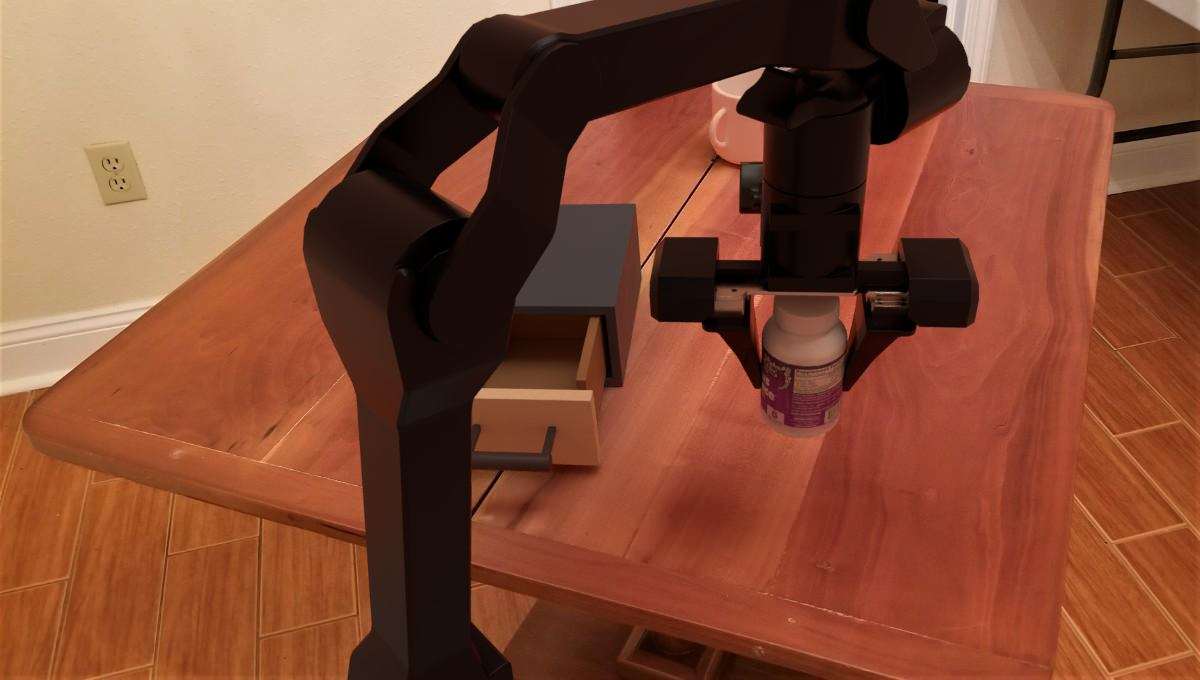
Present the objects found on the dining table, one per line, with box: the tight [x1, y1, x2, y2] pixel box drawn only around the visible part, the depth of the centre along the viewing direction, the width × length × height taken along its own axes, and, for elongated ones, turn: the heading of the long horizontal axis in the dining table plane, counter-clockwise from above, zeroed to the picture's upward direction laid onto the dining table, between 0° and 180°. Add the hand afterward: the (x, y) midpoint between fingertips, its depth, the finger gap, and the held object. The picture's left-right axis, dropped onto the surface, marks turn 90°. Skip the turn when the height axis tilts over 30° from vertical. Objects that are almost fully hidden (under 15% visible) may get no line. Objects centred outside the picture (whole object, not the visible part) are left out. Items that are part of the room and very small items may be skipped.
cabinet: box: [513, 203, 643, 387], centre depth 88 cm, size 17×14×9 cm
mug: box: [708, 67, 784, 166], centre depth 111 cm, size 12×10×9 cm
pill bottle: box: [760, 295, 849, 439], centre depth 60 cm, size 5×5×10 cm
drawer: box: [472, 314, 610, 473], centre depth 77 cm, size 20×13×7 cm, turn 172°
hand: (801, 386), depth 62 cm, fingers closed on pill bottle, 5 cm apart
